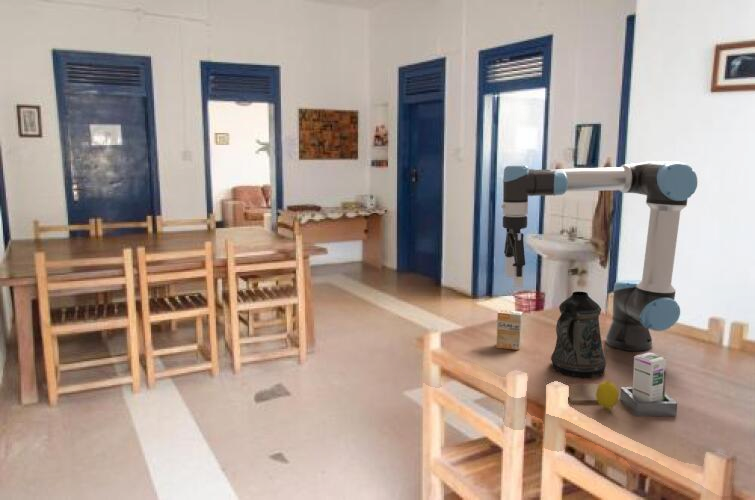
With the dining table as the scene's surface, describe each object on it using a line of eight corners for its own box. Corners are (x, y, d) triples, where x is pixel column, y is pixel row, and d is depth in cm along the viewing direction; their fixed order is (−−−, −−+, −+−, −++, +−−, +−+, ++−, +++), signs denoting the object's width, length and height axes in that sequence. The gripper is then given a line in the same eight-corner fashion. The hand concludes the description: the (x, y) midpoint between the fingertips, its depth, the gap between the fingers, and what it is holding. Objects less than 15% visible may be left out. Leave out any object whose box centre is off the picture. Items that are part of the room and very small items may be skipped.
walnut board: (597, 386, 167) (597, 383, 167) (612, 403, 156) (612, 399, 156) (559, 387, 167) (559, 384, 167) (571, 403, 156) (572, 400, 156)
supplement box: (495, 348, 201) (496, 312, 198) (498, 343, 205) (499, 308, 203) (519, 350, 197) (520, 314, 195) (521, 346, 202) (522, 310, 200)
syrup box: (649, 414, 150) (653, 361, 147) (630, 405, 155) (634, 354, 152) (664, 409, 152) (668, 357, 150) (644, 400, 157) (648, 351, 155)
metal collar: (657, 398, 159) (658, 386, 158) (676, 415, 148) (677, 403, 148) (620, 398, 159) (620, 387, 158) (636, 416, 149) (637, 403, 148)
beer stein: (604, 362, 186) (608, 288, 181) (607, 385, 168) (612, 304, 163) (551, 357, 191) (554, 285, 187) (549, 379, 173) (552, 300, 169)
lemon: (591, 405, 155) (593, 377, 154) (611, 404, 156) (613, 376, 154) (601, 414, 150) (603, 385, 149) (621, 413, 150) (623, 384, 149)
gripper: (496, 211, 190) (495, 273, 194) (510, 220, 166) (509, 291, 169) (518, 210, 190) (517, 272, 194) (536, 220, 165) (534, 290, 169)
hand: (513, 281), depth 181 cm, fingers open, 13 cm apart
